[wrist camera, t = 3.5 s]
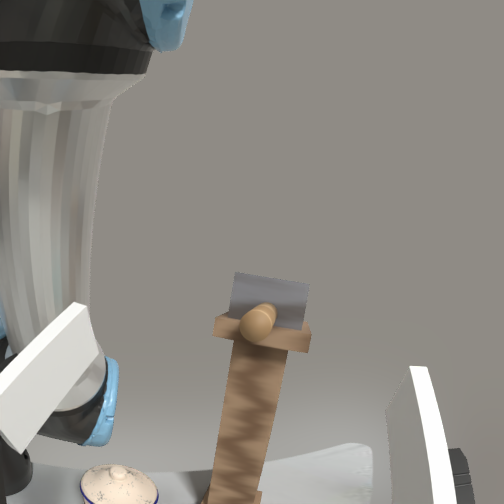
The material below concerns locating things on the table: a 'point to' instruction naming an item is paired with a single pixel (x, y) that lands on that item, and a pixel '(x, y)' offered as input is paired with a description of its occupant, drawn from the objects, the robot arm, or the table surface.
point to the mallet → (266, 304)
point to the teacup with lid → (117, 486)
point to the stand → (249, 409)
